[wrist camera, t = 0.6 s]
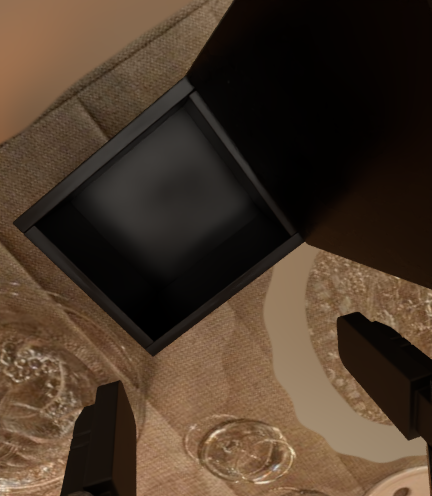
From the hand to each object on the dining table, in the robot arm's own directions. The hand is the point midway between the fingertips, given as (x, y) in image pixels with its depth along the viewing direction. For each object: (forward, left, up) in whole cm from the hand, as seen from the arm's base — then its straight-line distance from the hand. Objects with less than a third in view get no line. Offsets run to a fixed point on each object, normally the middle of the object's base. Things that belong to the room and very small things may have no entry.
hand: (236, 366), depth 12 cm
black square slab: (-7, +3, -4) cm, 9 cm away
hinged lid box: (-2, -2, -20) cm, 20 cm away
